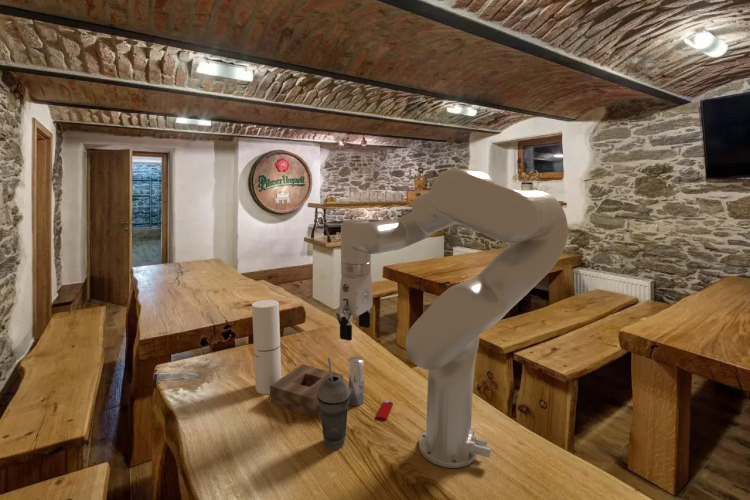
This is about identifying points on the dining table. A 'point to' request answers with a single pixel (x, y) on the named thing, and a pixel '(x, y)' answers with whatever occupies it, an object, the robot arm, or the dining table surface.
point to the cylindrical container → (266, 344)
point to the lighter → (384, 410)
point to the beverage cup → (333, 410)
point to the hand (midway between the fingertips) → (355, 332)
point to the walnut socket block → (300, 389)
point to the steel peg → (356, 381)
